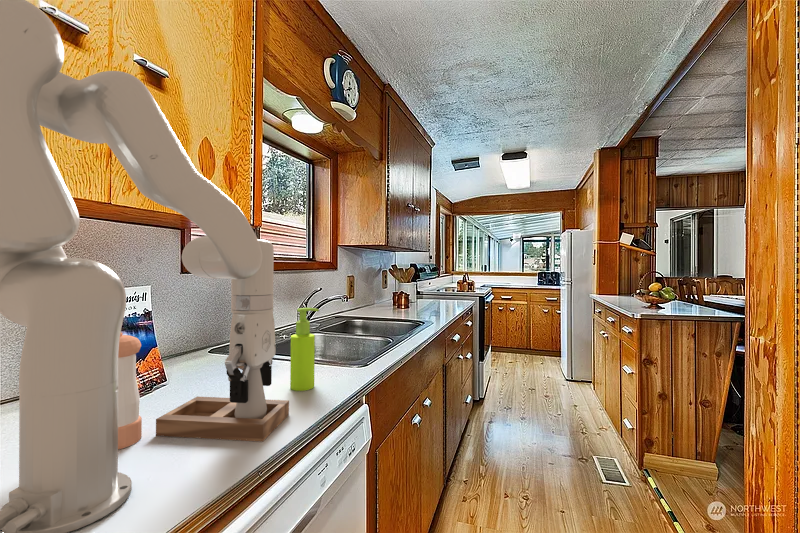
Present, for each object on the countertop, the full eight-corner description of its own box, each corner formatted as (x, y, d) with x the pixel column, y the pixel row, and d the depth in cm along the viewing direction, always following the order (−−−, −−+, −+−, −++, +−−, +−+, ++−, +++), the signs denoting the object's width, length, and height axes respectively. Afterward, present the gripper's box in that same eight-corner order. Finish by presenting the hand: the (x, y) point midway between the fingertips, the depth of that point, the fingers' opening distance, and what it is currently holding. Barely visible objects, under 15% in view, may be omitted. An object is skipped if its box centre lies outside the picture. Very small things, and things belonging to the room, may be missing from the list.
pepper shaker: (78, 448, 64) (78, 334, 64) (120, 430, 71) (121, 327, 71) (111, 454, 62) (112, 336, 62) (151, 435, 69) (152, 329, 69)
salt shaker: (256, 431, 70) (256, 360, 70) (228, 429, 71) (227, 359, 71) (272, 419, 76) (272, 353, 76) (246, 416, 77) (246, 351, 77)
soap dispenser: (320, 389, 96) (320, 308, 96) (291, 392, 94) (291, 309, 94) (316, 382, 102) (317, 306, 101) (289, 384, 99) (290, 307, 99)
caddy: (262, 441, 67) (262, 424, 67) (155, 435, 69) (155, 419, 69) (288, 415, 79) (289, 400, 79) (197, 410, 81) (197, 396, 81)
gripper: (249, 309, 65) (248, 411, 65) (288, 300, 82) (288, 380, 82) (207, 308, 66) (206, 409, 66) (255, 299, 83) (254, 379, 83)
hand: (251, 393), depth 74 cm, fingers open, 9 cm apart
